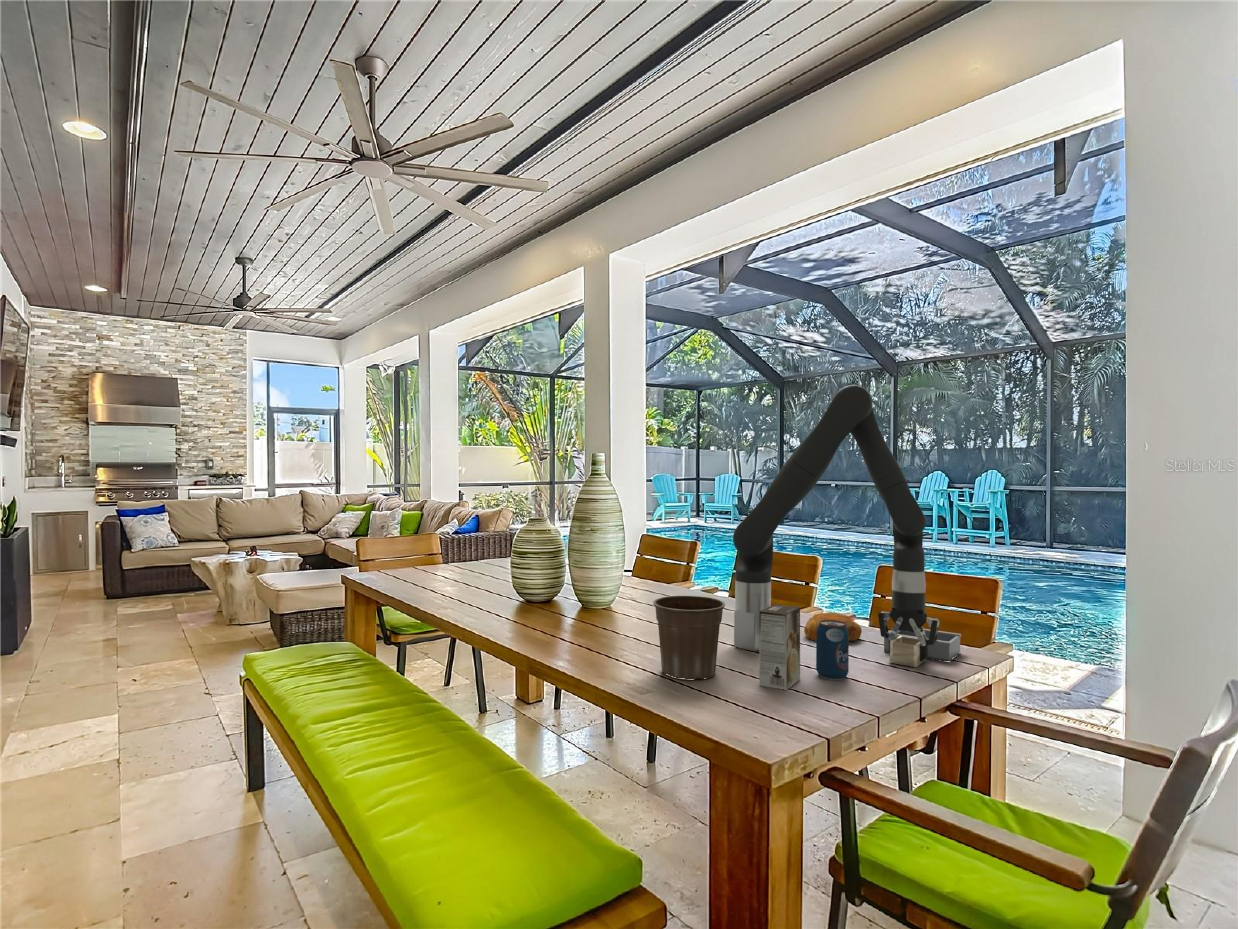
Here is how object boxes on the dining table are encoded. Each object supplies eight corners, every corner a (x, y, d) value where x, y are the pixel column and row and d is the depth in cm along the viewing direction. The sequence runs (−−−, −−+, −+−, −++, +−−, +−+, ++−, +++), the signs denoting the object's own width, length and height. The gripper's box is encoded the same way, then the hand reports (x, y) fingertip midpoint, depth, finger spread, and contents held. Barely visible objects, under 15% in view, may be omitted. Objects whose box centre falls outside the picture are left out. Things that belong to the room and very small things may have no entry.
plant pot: (716, 688, 142) (716, 611, 143) (643, 679, 148) (644, 605, 148) (730, 667, 158) (731, 598, 158) (664, 660, 163) (664, 593, 163)
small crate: (916, 667, 158) (916, 646, 158) (889, 662, 162) (890, 641, 162) (925, 660, 164) (925, 639, 164) (899, 655, 168) (900, 635, 168)
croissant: (865, 652, 181) (870, 623, 181) (808, 643, 181) (812, 614, 181) (849, 637, 195) (853, 610, 195) (795, 629, 196) (799, 602, 195)
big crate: (950, 663, 163) (950, 642, 163) (883, 651, 173) (883, 632, 173) (961, 653, 172) (961, 634, 172) (896, 643, 182) (896, 625, 182)
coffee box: (772, 675, 152) (773, 603, 152) (800, 679, 149) (801, 607, 149) (758, 685, 144) (758, 610, 144) (787, 691, 141) (788, 614, 141)
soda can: (845, 683, 147) (845, 627, 147) (812, 678, 150) (813, 624, 150) (851, 674, 153) (851, 621, 153) (820, 670, 156) (820, 618, 156)
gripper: (873, 587, 165) (872, 656, 165) (936, 594, 156) (935, 667, 156) (883, 583, 171) (882, 650, 171) (944, 590, 162) (943, 660, 162)
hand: (908, 658), depth 163 cm, fingers closed on small crate, 6 cm apart
